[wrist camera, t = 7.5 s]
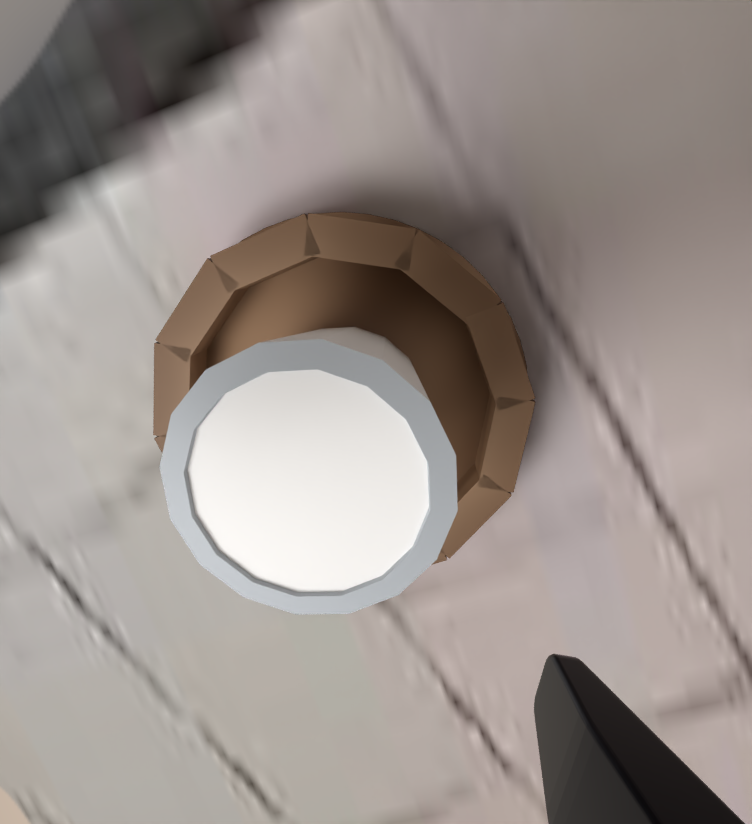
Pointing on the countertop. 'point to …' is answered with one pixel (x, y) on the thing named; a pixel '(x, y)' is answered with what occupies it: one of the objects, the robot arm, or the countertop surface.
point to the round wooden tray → (375, 312)
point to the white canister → (311, 472)
